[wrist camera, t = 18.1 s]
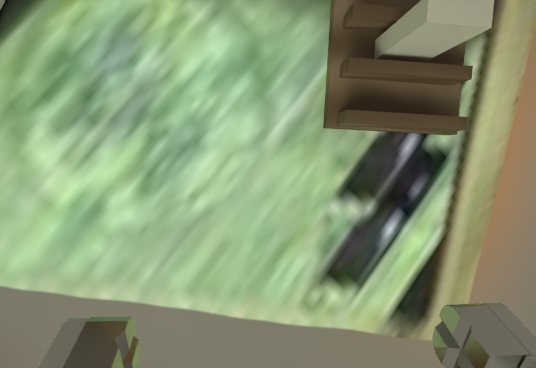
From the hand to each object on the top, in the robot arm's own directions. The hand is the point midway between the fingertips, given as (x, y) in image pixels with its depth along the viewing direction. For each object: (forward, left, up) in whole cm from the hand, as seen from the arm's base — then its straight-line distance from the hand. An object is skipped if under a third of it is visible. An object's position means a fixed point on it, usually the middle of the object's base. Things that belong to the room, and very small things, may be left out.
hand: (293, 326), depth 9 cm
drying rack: (-7, +20, -28) cm, 35 cm away
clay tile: (-7, +20, -26) cm, 34 cm away
